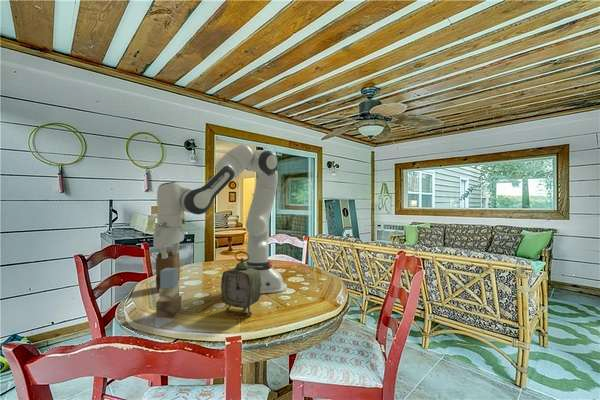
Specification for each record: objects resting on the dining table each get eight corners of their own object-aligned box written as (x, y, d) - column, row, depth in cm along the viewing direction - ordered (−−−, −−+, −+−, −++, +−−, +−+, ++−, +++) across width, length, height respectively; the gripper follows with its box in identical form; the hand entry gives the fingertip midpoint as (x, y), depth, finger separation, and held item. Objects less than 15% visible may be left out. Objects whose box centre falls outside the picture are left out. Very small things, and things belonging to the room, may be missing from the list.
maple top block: (179, 296, 117) (179, 284, 117) (173, 301, 111) (173, 289, 111) (165, 296, 117) (166, 284, 117) (159, 301, 111) (159, 288, 111)
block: (180, 285, 150) (181, 248, 150) (173, 290, 143) (174, 251, 143) (161, 285, 151) (161, 248, 151) (153, 290, 143) (153, 250, 143)
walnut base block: (181, 310, 117) (181, 296, 117) (174, 317, 110) (174, 302, 110) (164, 310, 117) (164, 296, 117) (156, 317, 110) (156, 302, 110)
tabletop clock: (221, 312, 115) (221, 251, 115) (234, 305, 123) (234, 248, 123) (250, 318, 109) (251, 254, 109) (263, 310, 118) (263, 250, 118)
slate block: (178, 284, 117) (178, 267, 117) (173, 288, 112) (173, 270, 112) (166, 284, 117) (166, 267, 116) (160, 288, 112) (160, 270, 112)
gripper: (165, 223, 104) (166, 261, 104) (187, 219, 124) (187, 251, 124) (148, 224, 104) (149, 261, 104) (172, 220, 124) (173, 251, 124)
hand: (170, 255), depth 114 cm, fingers open, 8 cm apart
